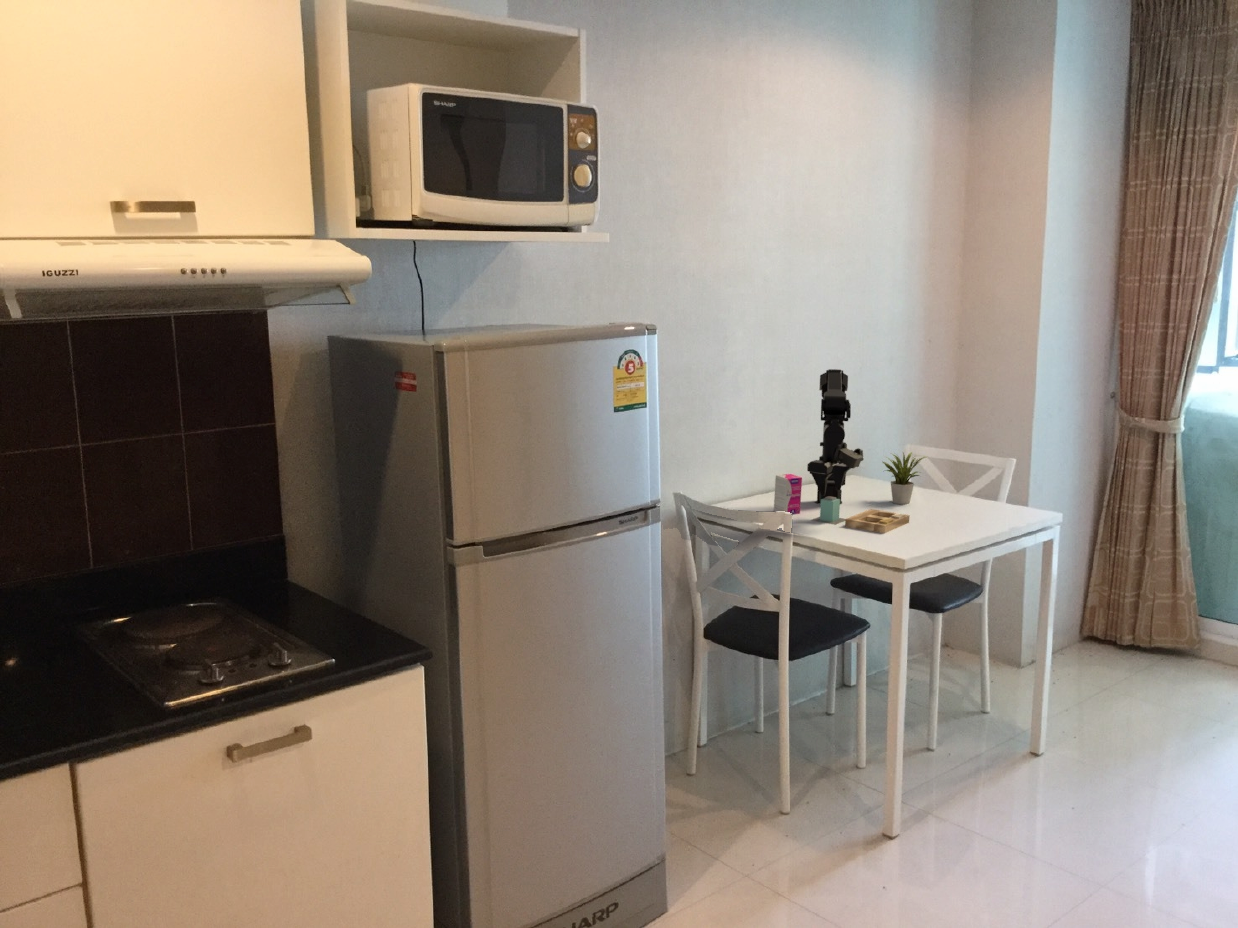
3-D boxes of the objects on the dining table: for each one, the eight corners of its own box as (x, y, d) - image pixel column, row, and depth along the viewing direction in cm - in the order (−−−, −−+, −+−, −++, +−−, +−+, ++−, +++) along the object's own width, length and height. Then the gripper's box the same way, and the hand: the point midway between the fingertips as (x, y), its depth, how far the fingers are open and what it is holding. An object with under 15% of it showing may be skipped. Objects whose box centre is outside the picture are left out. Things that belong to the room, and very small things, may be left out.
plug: (819, 519, 309) (820, 497, 307) (826, 517, 312) (827, 495, 310) (832, 522, 306) (833, 499, 305) (839, 519, 309) (840, 497, 308)
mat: (810, 521, 308) (810, 520, 308) (823, 516, 314) (823, 515, 314) (835, 525, 303) (835, 524, 303) (848, 520, 310) (848, 519, 309)
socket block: (845, 527, 302) (845, 517, 301) (870, 517, 314) (870, 507, 313) (884, 534, 294) (885, 524, 294) (909, 523, 306) (909, 513, 306)
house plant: (920, 496, 341) (923, 446, 338) (934, 506, 328) (937, 454, 325) (876, 496, 341) (878, 446, 338) (888, 506, 327) (891, 454, 324)
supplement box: (784, 516, 314) (786, 478, 311) (773, 512, 319) (774, 474, 317) (800, 514, 316) (802, 476, 314) (788, 510, 321) (790, 473, 319)
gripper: (843, 446, 292) (840, 502, 295) (874, 438, 307) (871, 491, 310) (807, 442, 299) (805, 496, 302) (838, 433, 313) (836, 485, 316)
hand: (830, 492), depth 307 cm, fingers open, 9 cm apart
